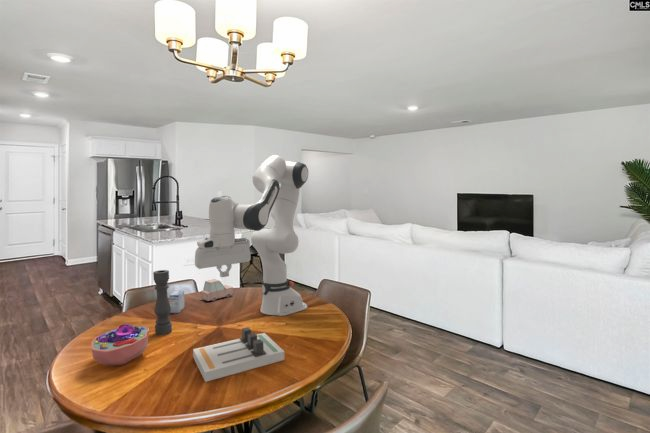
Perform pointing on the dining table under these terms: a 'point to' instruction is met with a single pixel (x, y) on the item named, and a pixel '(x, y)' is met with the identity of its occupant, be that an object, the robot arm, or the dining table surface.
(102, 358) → the cell model
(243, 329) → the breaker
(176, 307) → the medicine box
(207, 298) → the toy car
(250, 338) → the breaker
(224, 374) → the panel
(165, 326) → the candle holder
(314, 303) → the dining table surface
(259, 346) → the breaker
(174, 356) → the dining table surface
